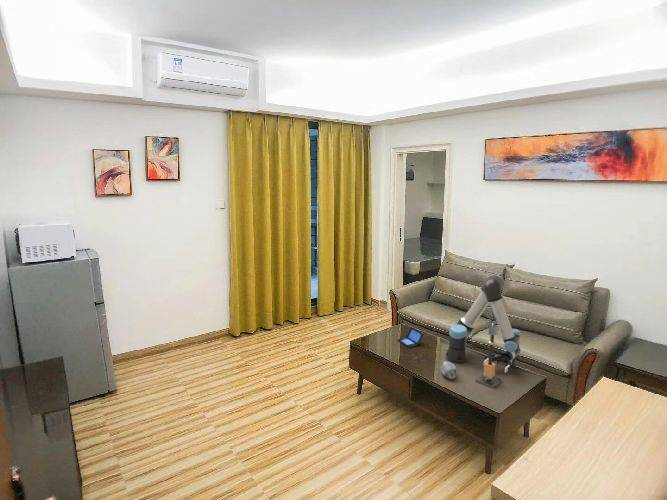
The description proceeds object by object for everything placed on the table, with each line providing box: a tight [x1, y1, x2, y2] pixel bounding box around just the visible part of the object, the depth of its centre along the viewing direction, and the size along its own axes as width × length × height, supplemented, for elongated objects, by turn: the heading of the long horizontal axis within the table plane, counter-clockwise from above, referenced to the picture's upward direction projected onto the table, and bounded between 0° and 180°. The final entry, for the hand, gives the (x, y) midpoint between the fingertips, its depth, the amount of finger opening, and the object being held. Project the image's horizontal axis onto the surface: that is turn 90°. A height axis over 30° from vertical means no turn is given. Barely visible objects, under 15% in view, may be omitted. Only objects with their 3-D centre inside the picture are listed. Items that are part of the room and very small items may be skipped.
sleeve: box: [482, 362, 496, 378], centre depth 259 cm, size 5×5×8 cm
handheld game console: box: [397, 327, 424, 349], centre depth 316 cm, size 16×13×9 cm
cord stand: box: [474, 322, 503, 389], centre depth 257 cm, size 12×12×39 cm
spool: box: [440, 360, 457, 380], centre depth 267 cm, size 14×10×10 cm
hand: (494, 366), depth 262 cm, fingers open, 13 cm apart
